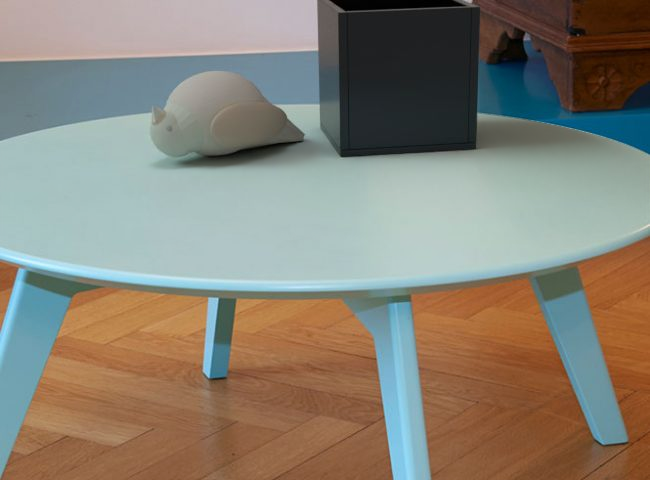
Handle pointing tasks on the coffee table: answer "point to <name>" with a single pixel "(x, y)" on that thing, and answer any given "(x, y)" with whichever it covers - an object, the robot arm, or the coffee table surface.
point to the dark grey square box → (398, 75)
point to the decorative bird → (218, 117)
